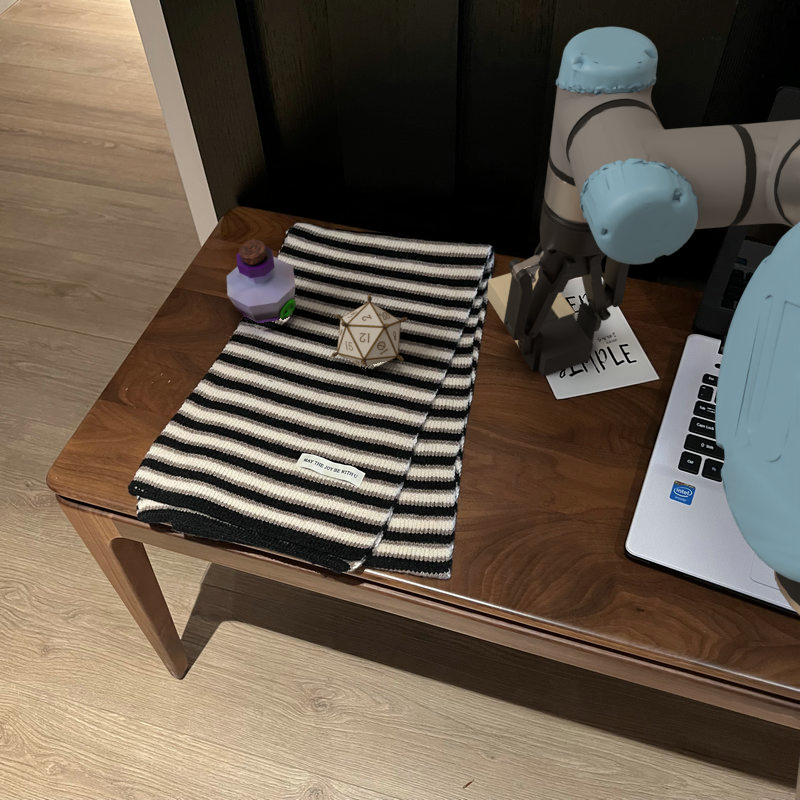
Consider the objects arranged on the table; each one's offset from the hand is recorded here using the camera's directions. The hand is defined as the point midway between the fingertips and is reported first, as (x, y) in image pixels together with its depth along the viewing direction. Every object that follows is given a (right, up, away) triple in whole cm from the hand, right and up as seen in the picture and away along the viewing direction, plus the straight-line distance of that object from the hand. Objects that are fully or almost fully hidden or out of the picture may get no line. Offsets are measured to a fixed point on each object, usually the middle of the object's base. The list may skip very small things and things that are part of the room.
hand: (555, 357), depth 92 cm
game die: (-22, 0, +2) cm, 22 cm away
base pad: (-3, +5, +4) cm, 7 cm away
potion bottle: (-35, +5, +6) cm, 35 cm away
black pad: (0, +1, +1) cm, 1 cm away
